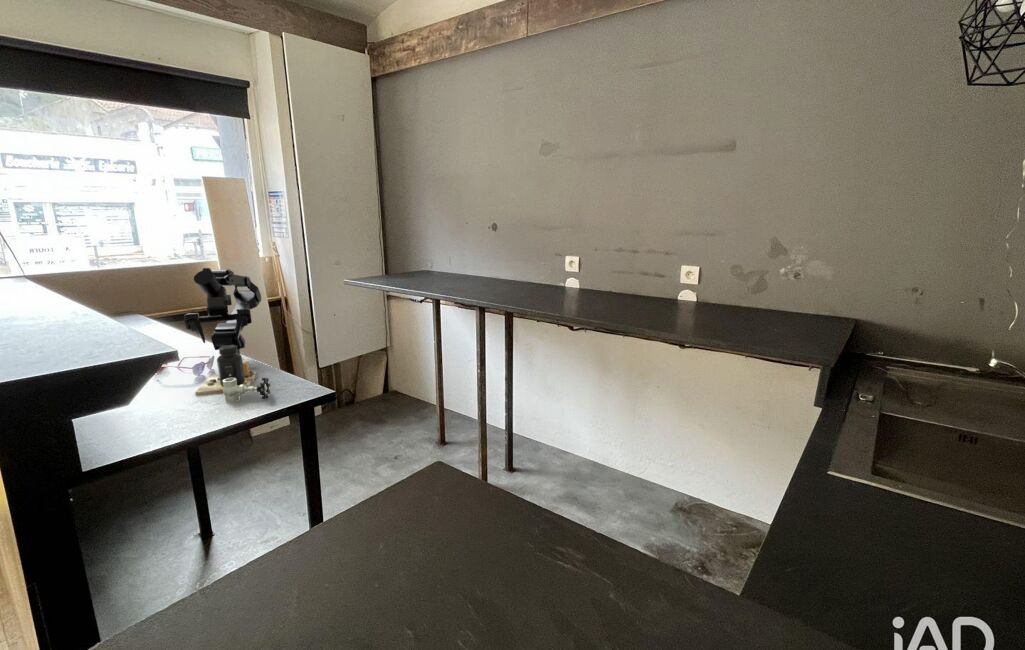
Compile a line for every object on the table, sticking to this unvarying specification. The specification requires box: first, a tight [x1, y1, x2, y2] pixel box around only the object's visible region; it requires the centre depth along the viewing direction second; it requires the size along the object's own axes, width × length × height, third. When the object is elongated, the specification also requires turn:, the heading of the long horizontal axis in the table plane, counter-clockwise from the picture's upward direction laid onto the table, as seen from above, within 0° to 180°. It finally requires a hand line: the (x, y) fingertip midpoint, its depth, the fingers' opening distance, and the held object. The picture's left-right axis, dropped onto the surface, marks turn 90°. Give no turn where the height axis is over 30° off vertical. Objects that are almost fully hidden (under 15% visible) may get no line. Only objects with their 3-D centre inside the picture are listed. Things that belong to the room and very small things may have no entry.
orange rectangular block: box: [242, 359, 251, 375], centre depth 160 cm, size 3×3×5 cm
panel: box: [194, 370, 258, 397], centre depth 155 cm, size 16×14×2 cm
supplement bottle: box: [216, 345, 245, 387], centre depth 151 cm, size 7×7×12 cm
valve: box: [223, 377, 271, 404], centre depth 143 cm, size 7×7×12 cm
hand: (221, 340), depth 156 cm, fingers open, 9 cm apart
